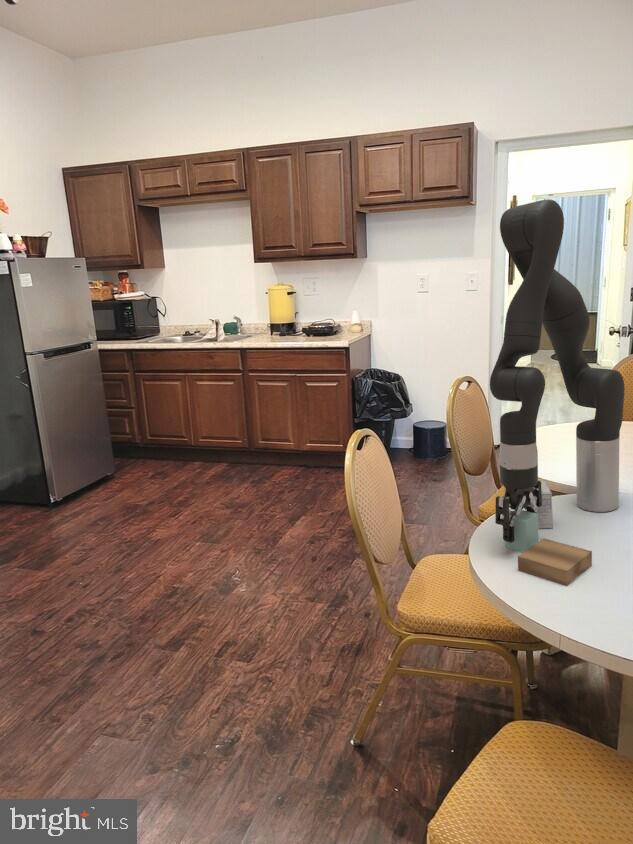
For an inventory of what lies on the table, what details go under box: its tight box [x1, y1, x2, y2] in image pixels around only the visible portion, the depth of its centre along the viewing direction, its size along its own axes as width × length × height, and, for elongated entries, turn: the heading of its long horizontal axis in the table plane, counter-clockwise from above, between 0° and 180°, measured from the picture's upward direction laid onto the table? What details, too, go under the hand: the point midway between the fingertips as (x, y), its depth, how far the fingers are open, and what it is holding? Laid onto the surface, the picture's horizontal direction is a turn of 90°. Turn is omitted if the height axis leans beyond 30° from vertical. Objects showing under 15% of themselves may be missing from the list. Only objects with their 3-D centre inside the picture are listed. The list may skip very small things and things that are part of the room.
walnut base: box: [517, 538, 593, 587], centre depth 119 cm, size 10×10×3 cm
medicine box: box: [534, 480, 554, 530], centre depth 140 cm, size 8×4×9 cm, turn 168°
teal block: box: [504, 509, 540, 553], centre depth 130 cm, size 5×5×7 cm
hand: (519, 534), depth 130 cm, fingers open, 8 cm apart
